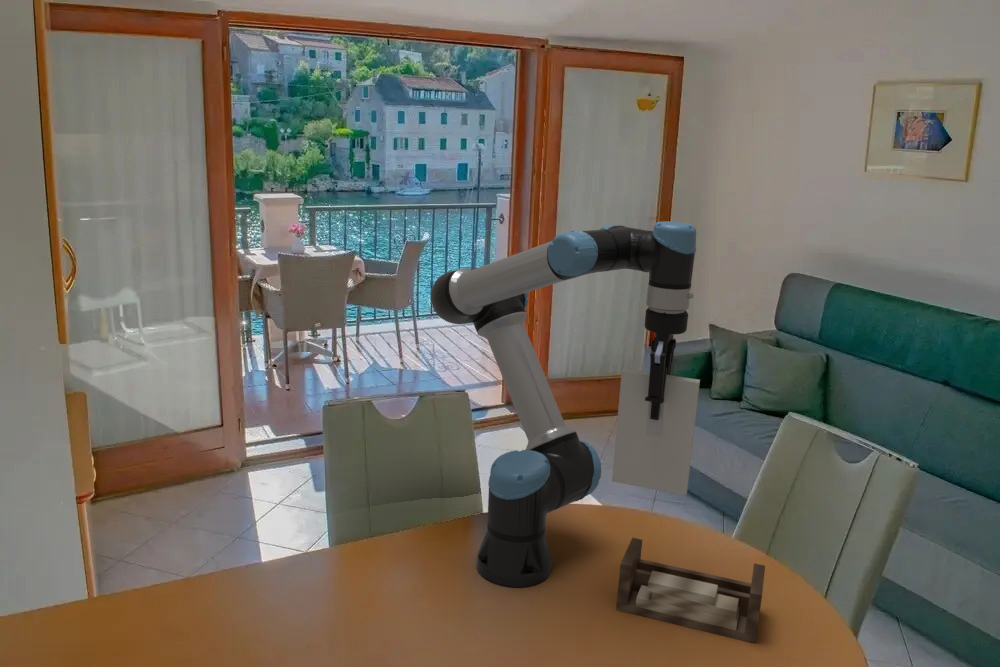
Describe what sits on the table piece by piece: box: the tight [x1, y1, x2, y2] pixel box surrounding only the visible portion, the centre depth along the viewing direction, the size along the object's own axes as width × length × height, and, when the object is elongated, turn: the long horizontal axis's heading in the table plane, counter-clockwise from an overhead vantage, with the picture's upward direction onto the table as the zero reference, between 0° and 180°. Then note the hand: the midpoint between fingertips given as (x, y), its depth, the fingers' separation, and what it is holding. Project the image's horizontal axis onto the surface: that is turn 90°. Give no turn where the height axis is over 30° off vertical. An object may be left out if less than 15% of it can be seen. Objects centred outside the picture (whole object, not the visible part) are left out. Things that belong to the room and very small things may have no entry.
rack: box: [615, 537, 766, 644], centre depth 153 cm, size 25×11×10 cm, turn 70°
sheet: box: [611, 368, 701, 496], centre depth 153 cm, size 14×2×22 cm, turn 70°
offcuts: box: [636, 571, 739, 630], centre depth 150 cm, size 18×5×5 cm, turn 70°
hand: (654, 432), depth 153 cm, fingers closed on sheet, 2 cm apart
